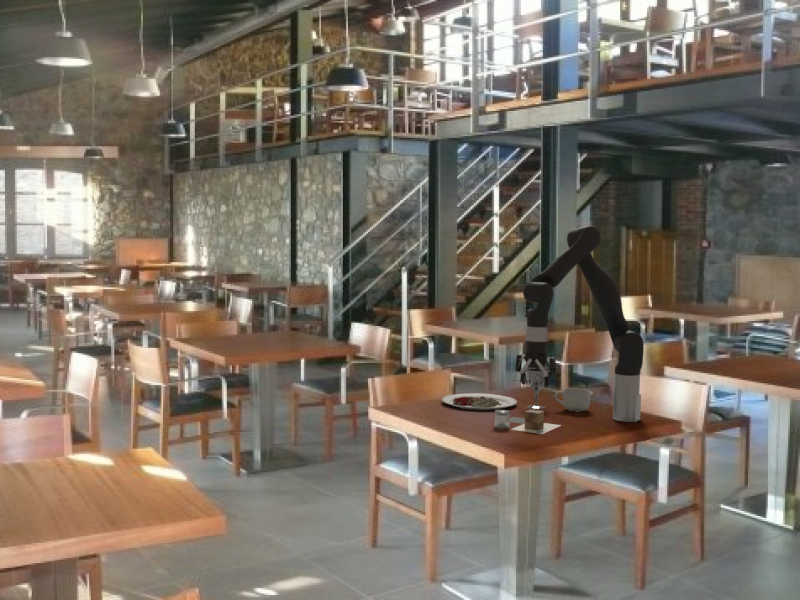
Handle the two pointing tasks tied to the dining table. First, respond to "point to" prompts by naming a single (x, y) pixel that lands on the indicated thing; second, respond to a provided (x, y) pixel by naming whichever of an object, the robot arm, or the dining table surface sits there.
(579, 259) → the robot arm
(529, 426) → the walnut block
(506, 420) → the tin
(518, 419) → the coaster
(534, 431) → the envelope
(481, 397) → the plated food
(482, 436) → the dining table surface
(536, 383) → the wine glass
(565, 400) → the teacup
